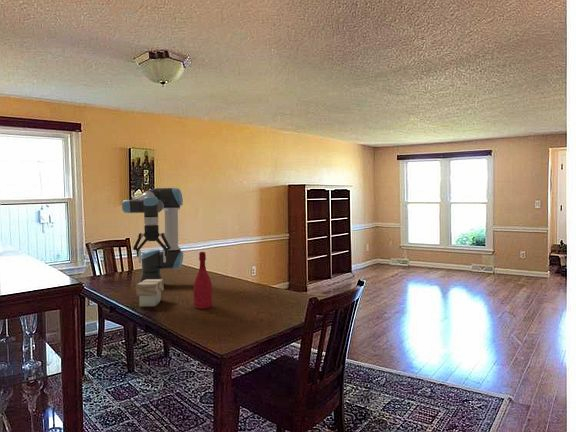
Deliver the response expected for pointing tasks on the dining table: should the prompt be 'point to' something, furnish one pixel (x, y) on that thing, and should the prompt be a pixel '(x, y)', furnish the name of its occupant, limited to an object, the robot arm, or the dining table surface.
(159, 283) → the lid
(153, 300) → the dish
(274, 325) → the dining table surface
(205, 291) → the wine bottle
